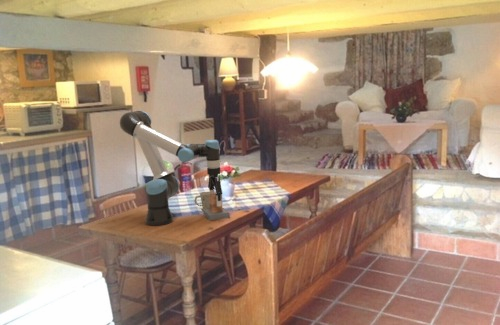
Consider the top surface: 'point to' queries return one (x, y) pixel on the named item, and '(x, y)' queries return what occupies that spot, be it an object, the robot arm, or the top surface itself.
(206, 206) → the mug
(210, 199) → the block
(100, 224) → the top surface
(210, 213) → the base
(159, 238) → the top surface
